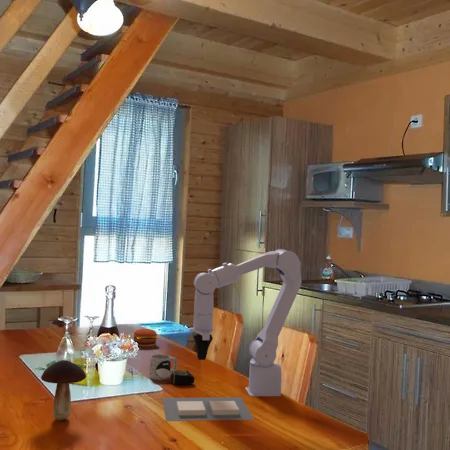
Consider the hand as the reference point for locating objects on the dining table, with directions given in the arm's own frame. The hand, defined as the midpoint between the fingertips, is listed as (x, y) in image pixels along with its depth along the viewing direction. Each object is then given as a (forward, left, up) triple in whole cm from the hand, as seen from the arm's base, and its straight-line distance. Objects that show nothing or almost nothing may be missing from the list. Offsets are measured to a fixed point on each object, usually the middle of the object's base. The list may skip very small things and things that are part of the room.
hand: (201, 359), depth 171 cm
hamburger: (+15, -61, -11) cm, 64 cm away
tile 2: (+5, +13, -9) cm, 16 cm away
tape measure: (+4, -10, -11) cm, 15 cm away
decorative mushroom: (+38, +20, -11) cm, 44 cm away
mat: (0, +14, -10) cm, 17 cm away
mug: (+10, -18, -11) cm, 23 cm away
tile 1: (-4, +13, -9) cm, 16 cm away
